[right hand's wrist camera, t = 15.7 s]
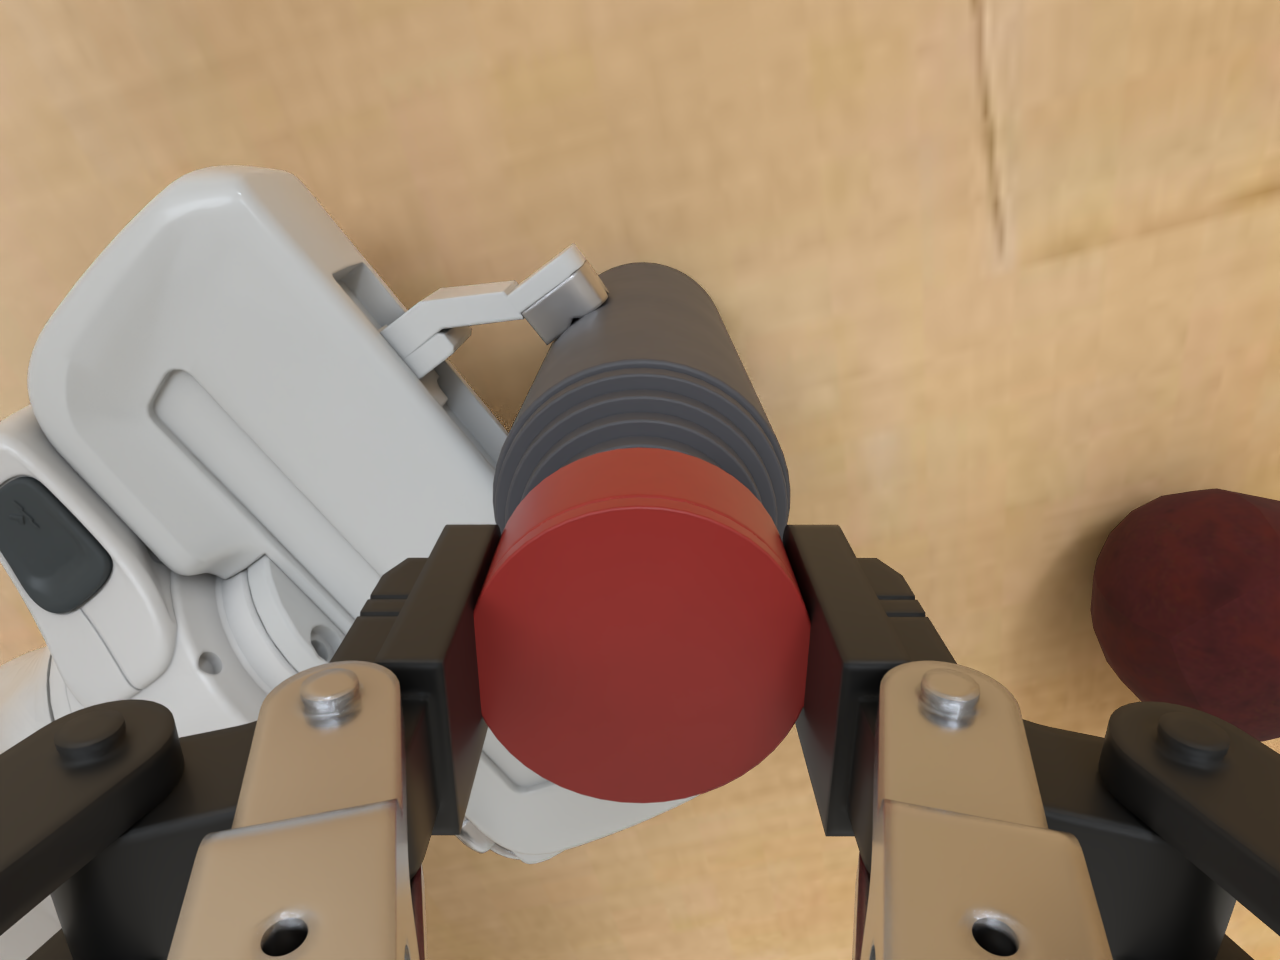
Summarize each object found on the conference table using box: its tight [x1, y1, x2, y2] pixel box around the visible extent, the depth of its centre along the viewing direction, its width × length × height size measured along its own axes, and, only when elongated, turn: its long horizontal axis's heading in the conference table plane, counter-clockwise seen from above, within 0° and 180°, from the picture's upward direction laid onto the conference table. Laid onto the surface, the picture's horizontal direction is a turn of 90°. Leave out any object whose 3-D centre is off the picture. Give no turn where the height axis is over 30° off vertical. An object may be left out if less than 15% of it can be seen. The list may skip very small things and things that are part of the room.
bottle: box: [493, 262, 790, 540], centre depth 19 cm, size 5×5×17 cm
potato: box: [1091, 489, 1280, 742], centre depth 26 cm, size 7×8×7 cm
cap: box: [473, 448, 811, 803], centre depth 11 cm, size 4×4×2 cm
